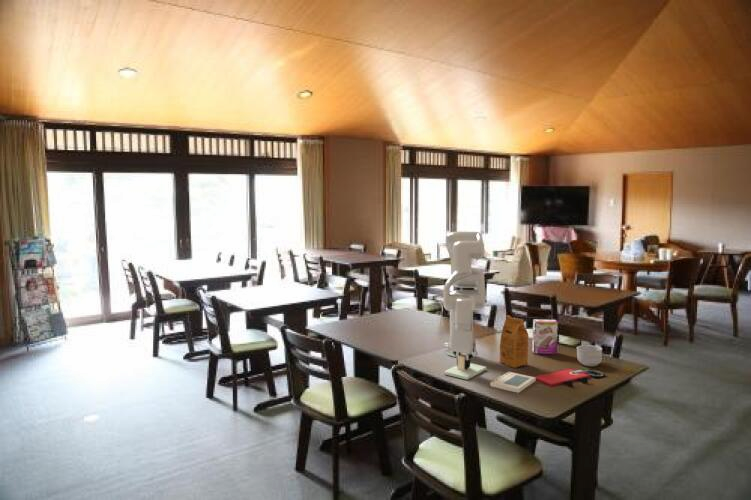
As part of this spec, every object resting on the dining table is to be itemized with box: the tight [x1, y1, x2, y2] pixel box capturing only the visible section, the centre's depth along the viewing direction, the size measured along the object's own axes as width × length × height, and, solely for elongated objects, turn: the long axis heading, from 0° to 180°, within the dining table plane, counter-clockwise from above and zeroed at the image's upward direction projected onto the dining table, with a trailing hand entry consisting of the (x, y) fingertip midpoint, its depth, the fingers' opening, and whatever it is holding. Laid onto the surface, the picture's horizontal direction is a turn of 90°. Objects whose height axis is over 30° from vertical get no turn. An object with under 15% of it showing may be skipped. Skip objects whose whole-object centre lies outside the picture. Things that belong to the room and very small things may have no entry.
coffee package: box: [499, 314, 529, 369], centre depth 238 cm, size 10×12×22 cm
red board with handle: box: [532, 367, 607, 388], centre depth 220 cm, size 30×3×15 cm
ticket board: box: [490, 371, 537, 394], centre depth 214 cm, size 12×17×2 cm
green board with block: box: [443, 353, 487, 381], centre depth 227 cm, size 11×17×7 cm
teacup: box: [576, 344, 603, 367], centre depth 238 cm, size 14×11×8 cm
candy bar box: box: [531, 318, 559, 356], centre depth 255 cm, size 11×5×16 cm, turn 84°
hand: (463, 367), depth 228 cm, fingers closed on green board with block, 3 cm apart
